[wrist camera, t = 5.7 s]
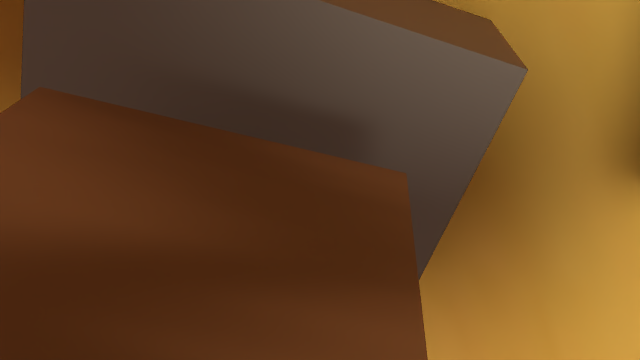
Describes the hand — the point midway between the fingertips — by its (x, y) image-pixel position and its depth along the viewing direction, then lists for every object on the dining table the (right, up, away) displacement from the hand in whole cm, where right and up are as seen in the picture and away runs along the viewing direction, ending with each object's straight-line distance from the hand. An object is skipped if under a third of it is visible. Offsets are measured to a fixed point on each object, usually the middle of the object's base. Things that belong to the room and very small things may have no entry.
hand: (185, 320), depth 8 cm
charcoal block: (0, +3, +6) cm, 7 cm away
